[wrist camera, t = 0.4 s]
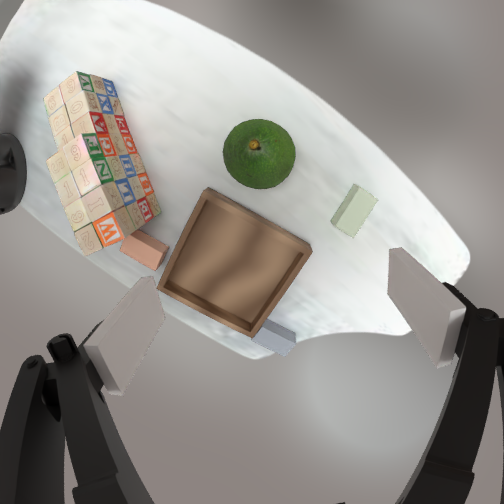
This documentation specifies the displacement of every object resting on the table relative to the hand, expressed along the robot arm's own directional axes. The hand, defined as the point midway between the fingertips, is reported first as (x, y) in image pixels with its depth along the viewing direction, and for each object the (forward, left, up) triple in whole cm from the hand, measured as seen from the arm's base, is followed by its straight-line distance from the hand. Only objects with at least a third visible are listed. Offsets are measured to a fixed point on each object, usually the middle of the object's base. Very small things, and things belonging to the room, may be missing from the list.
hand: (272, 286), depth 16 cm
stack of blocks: (-22, -4, -25) cm, 33 cm away
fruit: (-4, +5, -24) cm, 25 cm away
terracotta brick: (-12, -14, -25) cm, 31 cm away
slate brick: (+11, -17, -25) cm, 32 cm away
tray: (0, -10, -24) cm, 26 cm away
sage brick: (+10, +5, -25) cm, 27 cm away
